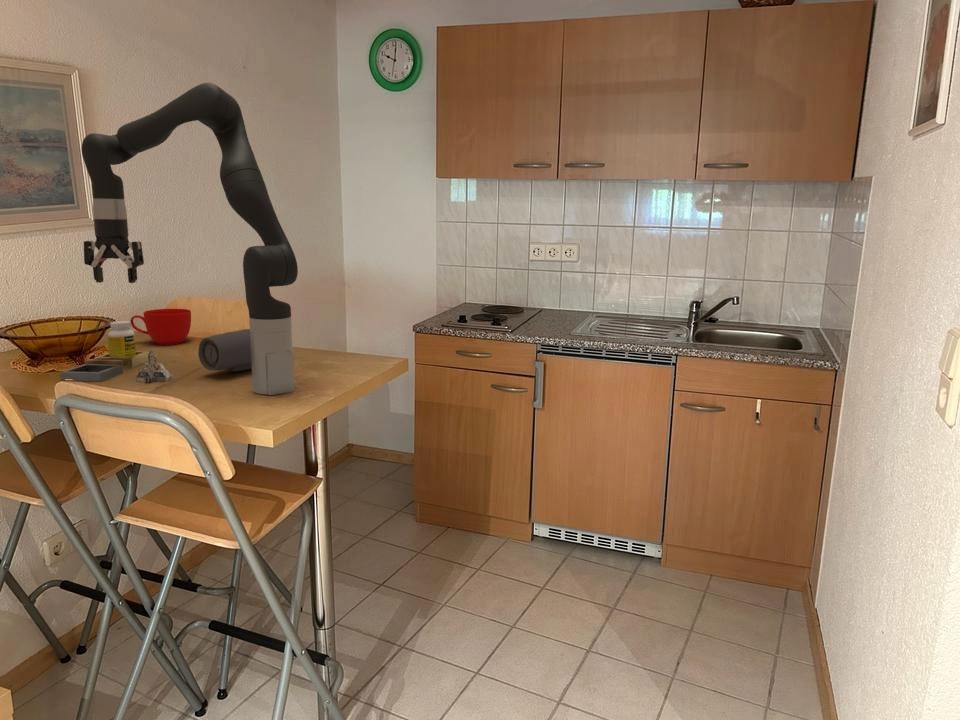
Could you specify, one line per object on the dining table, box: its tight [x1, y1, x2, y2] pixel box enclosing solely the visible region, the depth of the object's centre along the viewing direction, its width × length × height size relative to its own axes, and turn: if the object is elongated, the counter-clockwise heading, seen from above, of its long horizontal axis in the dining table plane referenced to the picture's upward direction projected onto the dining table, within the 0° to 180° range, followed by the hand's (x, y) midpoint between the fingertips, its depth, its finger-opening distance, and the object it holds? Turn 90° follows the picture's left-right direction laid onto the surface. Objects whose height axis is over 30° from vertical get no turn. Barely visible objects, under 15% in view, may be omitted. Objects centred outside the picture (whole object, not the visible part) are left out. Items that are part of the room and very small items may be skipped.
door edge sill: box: [83, 359, 125, 371], centre depth 180 cm, size 9×1×2 cm, turn 90°
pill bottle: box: [107, 320, 137, 358], centre depth 186 cm, size 6×6×11 cm
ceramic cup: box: [129, 308, 192, 346], centre depth 214 cm, size 13×17×10 cm
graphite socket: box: [60, 363, 124, 383], centre depth 172 cm, size 10×10×2 cm
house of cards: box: [135, 349, 172, 389], centre depth 167 cm, size 9×9×8 cm
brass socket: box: [93, 350, 150, 369], centre depth 187 cm, size 10×10×2 cm
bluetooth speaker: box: [197, 328, 252, 373], centre depth 184 cm, size 23×9×10 cm, turn 148°
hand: (115, 282), depth 183 cm, fingers open, 8 cm apart
